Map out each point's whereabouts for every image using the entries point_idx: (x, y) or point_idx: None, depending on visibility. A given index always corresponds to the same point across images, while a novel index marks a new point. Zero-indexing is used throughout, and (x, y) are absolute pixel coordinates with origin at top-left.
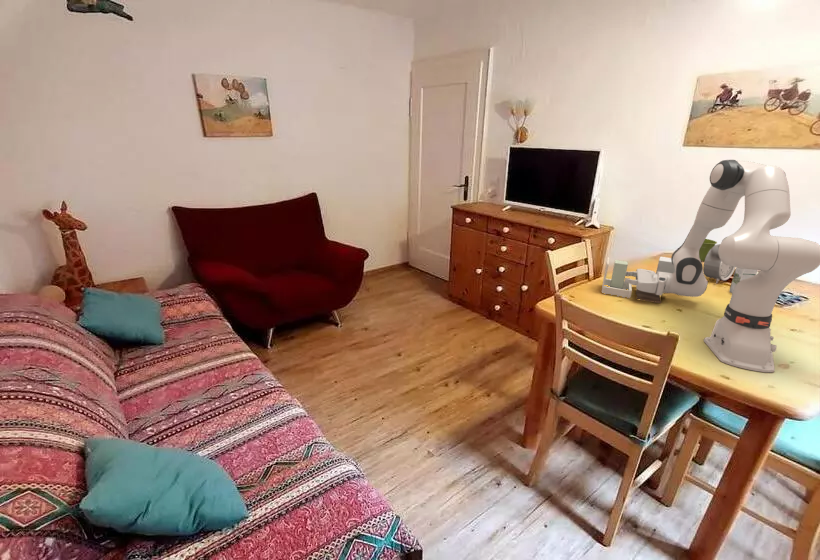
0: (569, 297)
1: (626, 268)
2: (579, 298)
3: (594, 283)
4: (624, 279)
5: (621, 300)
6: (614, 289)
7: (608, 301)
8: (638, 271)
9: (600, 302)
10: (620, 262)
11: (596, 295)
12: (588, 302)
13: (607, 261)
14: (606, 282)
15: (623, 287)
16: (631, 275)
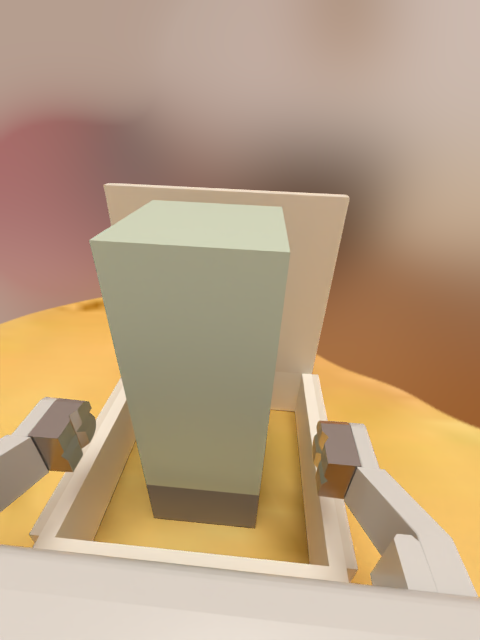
0: (85, 301)
1: (106, 297)
2: (72, 321)
3: (312, 373)
4: (133, 421)
5: (12, 504)
6: (102, 416)
7: (11, 418)
8: (424, 620)
9: (5, 382)
10: (194, 216)
11: (115, 372)
12: (17, 342)
13: (191, 187)
14: (299, 401)
15: (309, 542)
16: (372, 536)
